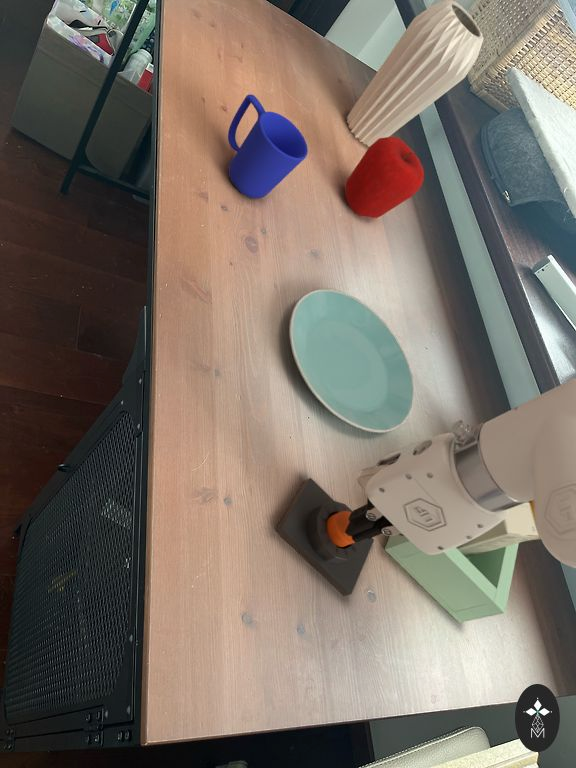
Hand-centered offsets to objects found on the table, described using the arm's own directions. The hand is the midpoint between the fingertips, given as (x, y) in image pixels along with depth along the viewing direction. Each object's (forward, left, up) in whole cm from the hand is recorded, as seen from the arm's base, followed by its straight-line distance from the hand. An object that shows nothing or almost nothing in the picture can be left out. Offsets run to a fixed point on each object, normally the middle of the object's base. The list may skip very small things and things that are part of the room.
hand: (354, 527), depth 67 cm
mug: (+39, -38, -5) cm, 55 cm away
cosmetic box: (-15, -12, -4) cm, 20 cm away
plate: (+9, -24, -5) cm, 27 cm away
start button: (0, 0, -3) cm, 3 cm away
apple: (+23, -58, -6) cm, 63 cm away
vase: (+32, -79, -5) cm, 86 cm away
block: (0, 0, -5) cm, 5 cm away
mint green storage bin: (-15, -12, -5) cm, 20 cm away
